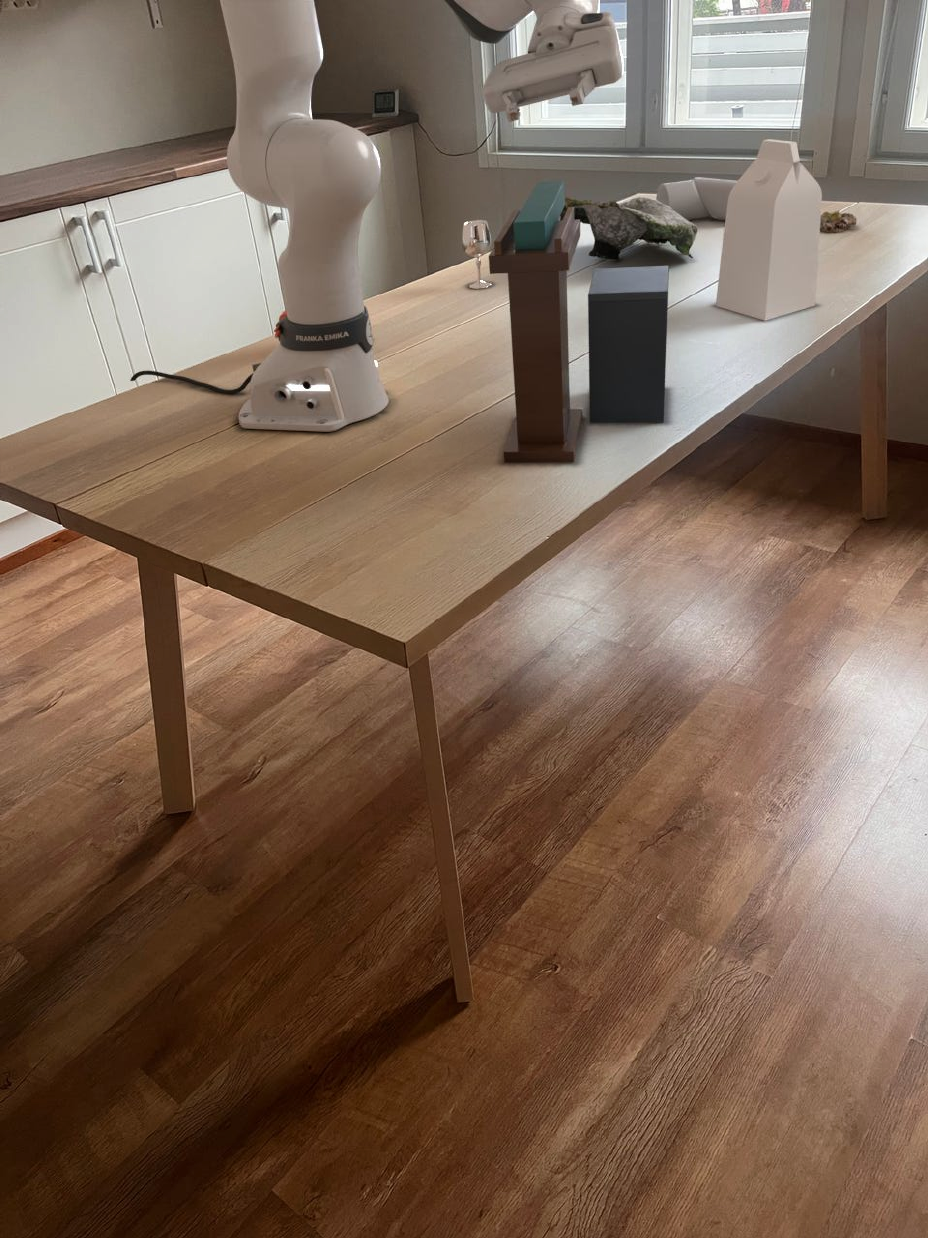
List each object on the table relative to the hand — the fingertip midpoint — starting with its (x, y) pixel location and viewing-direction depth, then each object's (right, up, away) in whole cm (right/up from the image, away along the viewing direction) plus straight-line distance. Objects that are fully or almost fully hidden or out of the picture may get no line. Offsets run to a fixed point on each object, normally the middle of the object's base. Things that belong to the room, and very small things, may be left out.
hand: (543, 108), depth 132 cm
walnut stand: (0, -47, -4) cm, 47 cm away
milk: (+42, -16, +35) cm, 56 cm away
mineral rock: (+68, +14, +74) cm, 102 cm away
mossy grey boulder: (+23, +5, +69) cm, 73 cm away
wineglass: (-8, -3, +61) cm, 62 cm away
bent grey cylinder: (+46, +22, +90) cm, 103 cm away
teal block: (-1, -22, -14) cm, 26 cm away
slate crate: (+12, -40, +3) cm, 42 cm away
